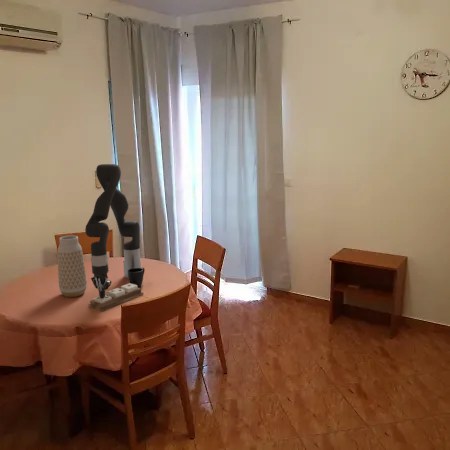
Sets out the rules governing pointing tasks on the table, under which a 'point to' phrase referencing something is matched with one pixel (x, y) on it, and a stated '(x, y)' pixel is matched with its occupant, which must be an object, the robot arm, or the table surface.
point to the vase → (71, 267)
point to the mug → (136, 276)
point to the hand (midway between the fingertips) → (102, 297)
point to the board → (116, 300)
